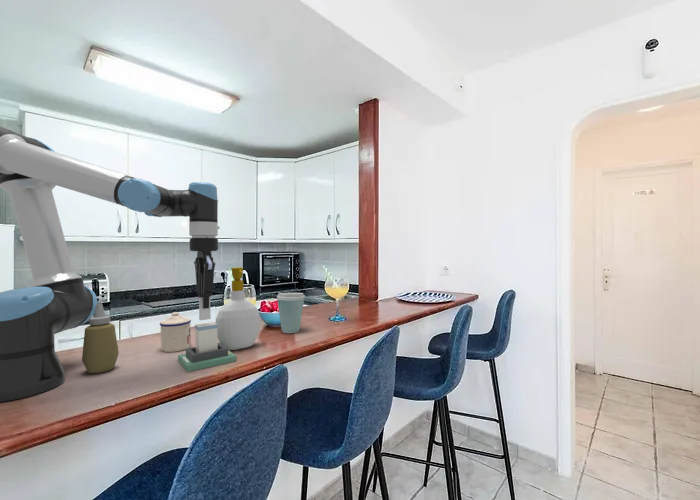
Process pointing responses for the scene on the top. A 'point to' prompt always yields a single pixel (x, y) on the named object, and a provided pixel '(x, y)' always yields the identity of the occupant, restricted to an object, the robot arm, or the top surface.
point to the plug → (206, 337)
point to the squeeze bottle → (99, 343)
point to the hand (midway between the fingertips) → (204, 319)
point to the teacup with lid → (175, 333)
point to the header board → (206, 358)
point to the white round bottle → (237, 317)
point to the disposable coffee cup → (290, 311)
